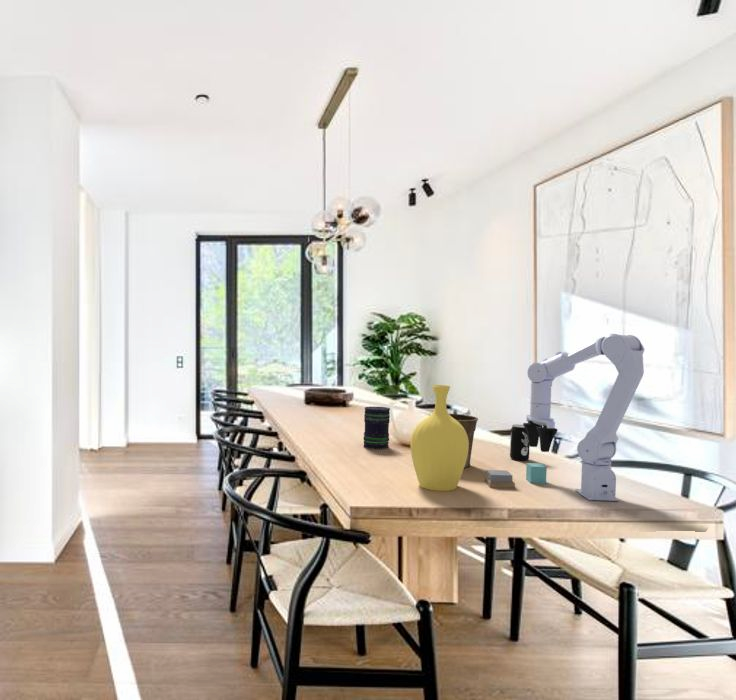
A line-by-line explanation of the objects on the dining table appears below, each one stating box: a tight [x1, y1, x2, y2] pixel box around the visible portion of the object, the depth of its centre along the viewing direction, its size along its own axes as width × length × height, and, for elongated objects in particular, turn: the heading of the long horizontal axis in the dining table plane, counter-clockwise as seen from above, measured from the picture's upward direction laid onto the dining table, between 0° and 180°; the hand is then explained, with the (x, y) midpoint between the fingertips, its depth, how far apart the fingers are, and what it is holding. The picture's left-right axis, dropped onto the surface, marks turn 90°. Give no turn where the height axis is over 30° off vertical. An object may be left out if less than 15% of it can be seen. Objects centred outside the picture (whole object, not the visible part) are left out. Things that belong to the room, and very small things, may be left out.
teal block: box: [525, 462, 548, 485], centre depth 156 cm, size 4×4×5 cm
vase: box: [410, 384, 469, 492], centre depth 147 cm, size 16×16×28 cm
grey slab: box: [485, 469, 513, 483], centre depth 151 cm, size 6×6×2 cm
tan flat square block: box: [484, 475, 516, 489], centre depth 151 cm, size 7×7×2 cm
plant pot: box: [429, 413, 479, 469], centre depth 175 cm, size 16×16×16 cm
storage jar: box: [363, 406, 391, 450], centre depth 202 cm, size 10×10×15 cm
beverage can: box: [509, 424, 531, 462], centre depth 188 cm, size 7×7×12 cm
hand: (539, 449), depth 157 cm, fingers open, 7 cm apart
